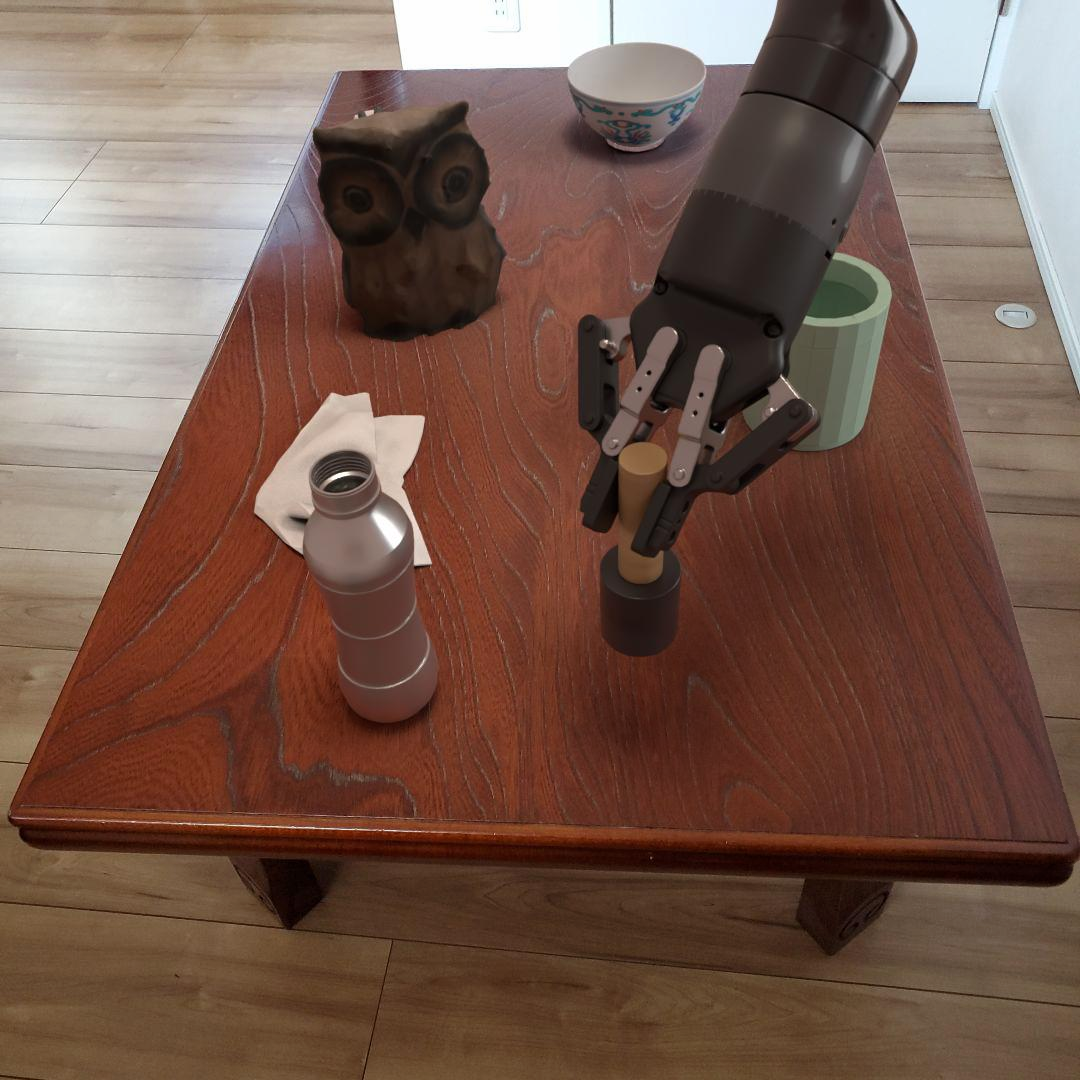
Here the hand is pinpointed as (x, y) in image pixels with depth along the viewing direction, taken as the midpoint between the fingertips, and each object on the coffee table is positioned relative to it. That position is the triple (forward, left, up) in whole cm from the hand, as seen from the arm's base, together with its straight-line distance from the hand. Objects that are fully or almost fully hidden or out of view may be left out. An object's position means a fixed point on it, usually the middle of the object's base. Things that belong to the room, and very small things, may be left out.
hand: (619, 540), depth 56 cm
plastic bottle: (+10, -12, -20) cm, 25 cm away
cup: (-31, -20, -19) cm, 41 cm away
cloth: (+5, -31, -20) cm, 37 cm away
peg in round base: (-2, -1, -9) cm, 9 cm away
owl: (-12, -52, -20) cm, 57 cm away
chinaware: (-46, -67, -18) cm, 83 cm away
